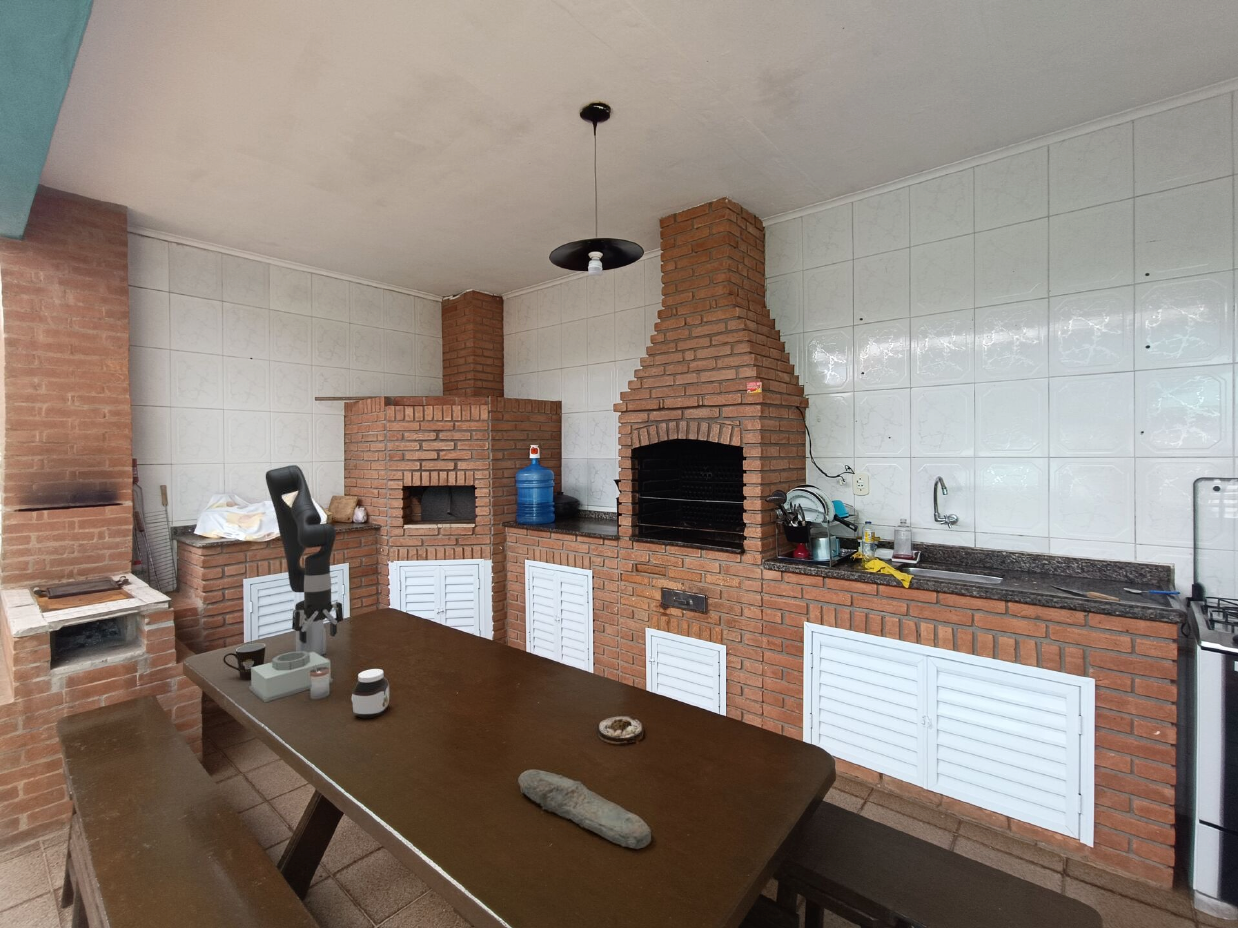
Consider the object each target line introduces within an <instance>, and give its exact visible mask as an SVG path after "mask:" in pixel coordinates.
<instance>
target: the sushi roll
mask: <svg viewBox="0 0 1238 928" xmlns="http://www.w3.org/2000/svg"><path fill="white" fill-rule="evenodd" d="M631 717H632V716H624V715H620V716H613V717H608V718H605V719H603V720H602V721H600V722H599V723H598V725H597V729H596V730H597V734H598V738H599V740H601V741H602V742H603V743H606V744H609V745H621V746H623V745H628V744H631V743H636V744H639V742H641V740H642V739H643V736H644V730H645V729H644V728H643V725H642V723H641V722H640V721H639V720H638V719H636V718H635V719H634V718H631Z"/></svg>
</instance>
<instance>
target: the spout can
mask: <svg viewBox="0 0 1238 928" xmlns="http://www.w3.org/2000/svg"><path fill="white" fill-rule="evenodd" d="M309 690H310V691H309V692H310V699H312V700H319V699H323V698H327V696H329V695H330V683H329V668H328V667H319V668H317V666H313V669H312V670H311V671H310V689H309Z"/></svg>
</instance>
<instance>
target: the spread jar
mask: <svg viewBox="0 0 1238 928" xmlns="http://www.w3.org/2000/svg"><path fill="white" fill-rule="evenodd" d="M357 676H358V677H357V680H358V681H357V683H356V685H355V686H354V688H353V692H352V695H351V702H352V710H353V713H354V714H355V716H358V717H360V718H364V719H370V718H375V717H378V716H380V715H382V714H383V713H385V711H386V709H387V707H388V705H389V703H390V702H389V701H390V683H389V681H388V679H387V678H386V677H384V670H383V669H380V668H371V669H367V670H363V671H361V672H360V673H358V675H357Z"/></svg>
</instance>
